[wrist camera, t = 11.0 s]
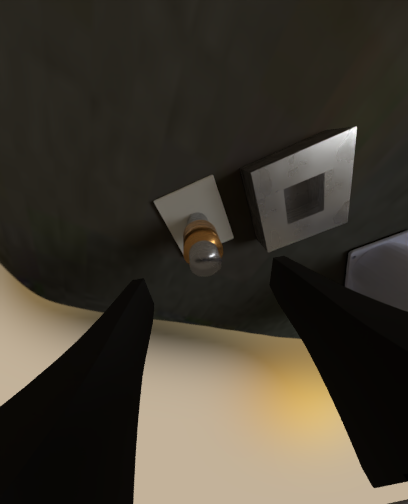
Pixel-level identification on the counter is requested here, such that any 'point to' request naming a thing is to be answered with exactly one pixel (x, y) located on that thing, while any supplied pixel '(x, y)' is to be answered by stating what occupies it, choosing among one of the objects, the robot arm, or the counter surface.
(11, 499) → the robot arm
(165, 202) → the mat
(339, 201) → the block
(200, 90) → the counter surface
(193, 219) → the amber medicine bottle
